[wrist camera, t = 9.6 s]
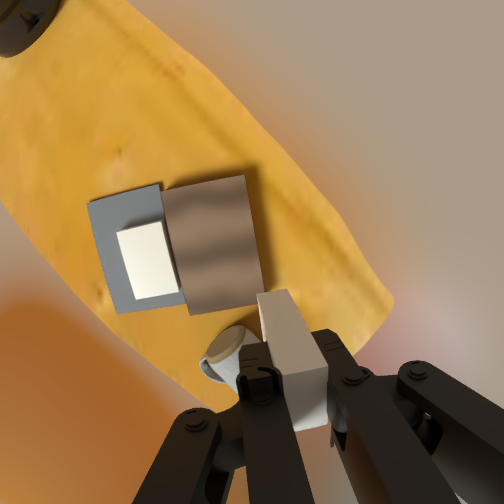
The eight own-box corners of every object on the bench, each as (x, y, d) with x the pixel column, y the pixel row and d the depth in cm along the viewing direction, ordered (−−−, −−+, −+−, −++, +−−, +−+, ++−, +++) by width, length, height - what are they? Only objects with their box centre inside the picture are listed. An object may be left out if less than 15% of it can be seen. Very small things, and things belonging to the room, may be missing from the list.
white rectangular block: (121, 229, 35) (116, 232, 33) (164, 219, 36) (160, 221, 34) (139, 294, 38) (135, 299, 36) (181, 286, 38) (179, 291, 36)
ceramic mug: (242, 312, 40) (245, 342, 33) (277, 349, 42) (286, 381, 35) (187, 352, 41) (180, 385, 34) (224, 384, 43) (223, 418, 36)
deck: (164, 190, 35) (160, 191, 33) (243, 175, 36) (244, 174, 33) (191, 307, 39) (189, 315, 37) (264, 294, 40) (266, 301, 37)
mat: (88, 202, 35) (86, 203, 34) (159, 183, 35) (158, 184, 34) (118, 312, 39) (117, 314, 38) (186, 301, 39) (186, 303, 38)
